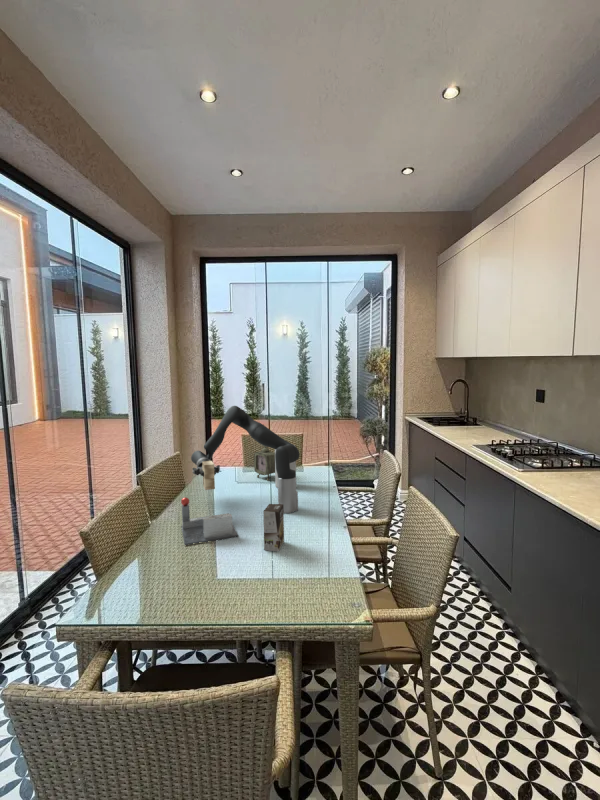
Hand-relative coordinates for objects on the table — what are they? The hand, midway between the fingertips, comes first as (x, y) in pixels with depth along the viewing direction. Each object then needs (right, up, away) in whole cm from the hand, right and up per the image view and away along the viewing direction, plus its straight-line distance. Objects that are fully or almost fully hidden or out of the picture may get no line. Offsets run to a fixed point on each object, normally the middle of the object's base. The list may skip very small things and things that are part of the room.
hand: (208, 473), depth 188 cm
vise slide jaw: (+1, -21, -8) cm, 23 cm away
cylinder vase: (+35, -17, +51) cm, 64 cm away
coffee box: (+33, -24, -29) cm, 50 cm away
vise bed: (+3, -23, -15) cm, 28 cm away
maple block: (-1, -7, +2) cm, 7 cm away
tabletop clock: (+22, -16, +69) cm, 74 cm away
